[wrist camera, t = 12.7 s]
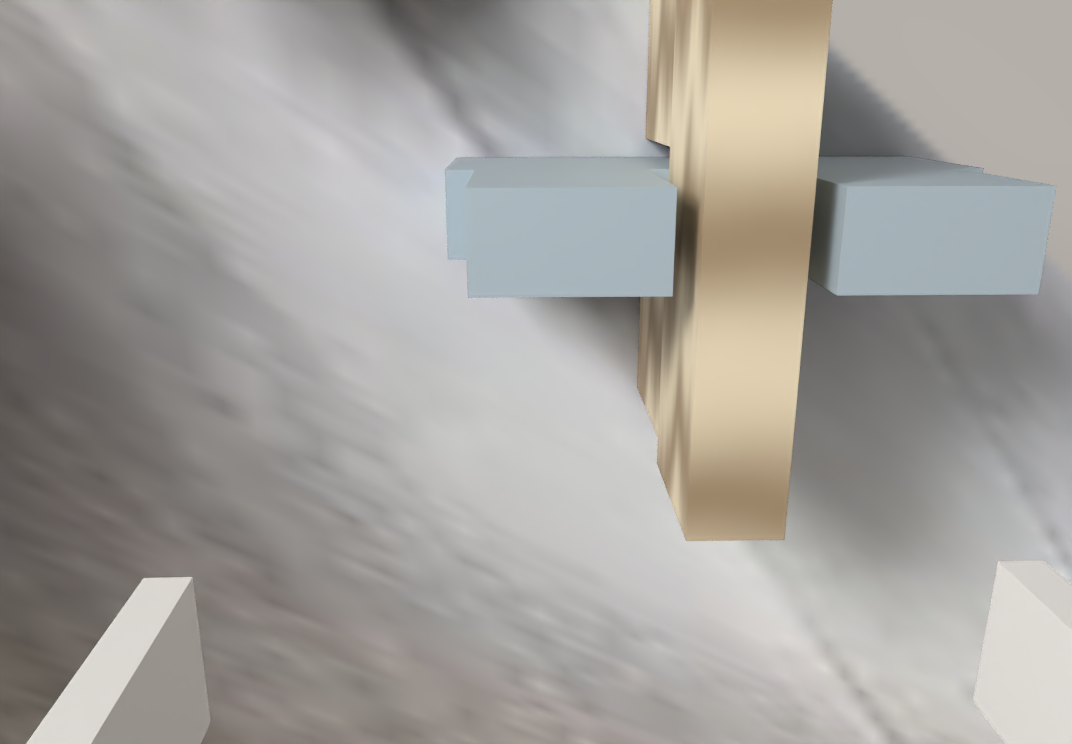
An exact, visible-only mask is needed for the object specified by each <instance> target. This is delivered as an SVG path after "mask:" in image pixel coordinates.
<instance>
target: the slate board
mask: <svg viewBox="0 0 1072 744" xmlns="http://www.w3.org/2000/svg"><path fill="white" fill-rule="evenodd" d="M669 162H670V157H537V158H456V159H455V160H454V161H453V162H452V163H451V164H450V165H449V166H448V167H447V168H446V169H445V187H446V219H447V251H448V260H467V290H468V298H494V297H670V296H673V273H674V251H675V228H676V205H677V187H676V186H675V185H673V184H671V183H669ZM1055 191H1056V186H1055V185H1049V184H1043V183H1037V182H1031V181H1026V180H1020V179H1014V178H1008V177H1001V176H996V175H990V174H984V173H983V168H979V167H973V166H966V165H960V164H954V163H947V162H941V161H935V160H929V159H922V158H916V157H910V156H876V157H819V158H818V169H817V180H816V191H815V203H814V214H813V225H812V236H811V247H810V259H809V270H808V278H810V279H811V280H813V281H814V282H816V283H817V284H819V285H821V286H822V287H824V288H825V289H827V290H829V291H830V292H832V293H833V294H835V295H836V296H846V295H1021V294H1039V288H1040V282H1041V276H1042V270H1043V264H1044V258H1045V252H1046V246H1047V240H1048V234H1049V228H1050V221H1051V216H1052V209H1053V204H1054V197H1055Z"/></svg>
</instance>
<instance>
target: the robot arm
mask: <svg viewBox="0 0 1072 744" xmlns="http://www.w3.org/2000/svg"><path fill="white" fill-rule="evenodd" d="M973 702H974V704H975V705H976V706H977V708H978V709H979V710H980V711H981V713H982V714H983V715H984V716H985V718H986V719H987V720H988V722H989V723H990V724H991V725H992V727H993V728H994V729H995V731H996V732H997V733H998V734H999V736H1000V737H1001V738H1002V740H1003V741H1004V742H1005V743H1006V744H1072V585H1071V584H1070V583H1069V582H1068V581H1066V580H1065V579H1064V578H1063V577H1062V576H1061V575H1059V574H1058V573H1057V572H1056V571H1055V570H1054V569H1052V568H1051V567H1050V566H1049V565H1048V564H1047V563H1045V562H1044V561H998V565H997V571H996V576H995V582H994V587H993V593H992V598H991V604H990V609H989V615H988V620H987V626H986V632H985V637H984V643H983V648H982V654H981V659H980V665H979V670H978V676H977V681H976V687H975V693H974V698H973ZM210 723H211V720H210V712H209V704H208V696H207V688H206V680H205V672H204V664H203V656H202V648H201V640H200V632H199V624H198V616H197V608H196V600H195V592H194V584H193V577H168V578H143V579H142V581H141V582H140V584H139V585H138V587H137V588H136V589H135V591H134V592H133V594H132V595H131V596H130V598H129V599H128V601H127V602H126V603H125V605H124V606H123V608H122V609H121V610H120V612H119V613H118V615H117V616H116V618H115V619H114V620H113V622H112V623H111V625H110V626H109V627H108V629H107V630H106V632H105V633H104V634H103V636H102V637H101V639H100V640H99V641H98V643H97V644H96V646H95V647H94V649H93V650H92V651H91V653H90V654H89V656H88V657H87V658H86V660H85V661H84V663H83V664H82V665H81V667H80V668H79V670H78V671H77V673H76V674H75V675H74V677H73V678H72V680H71V681H70V682H69V684H68V685H67V687H66V688H65V689H64V691H63V692H62V694H61V695H60V696H59V698H58V699H57V701H56V702H55V704H54V705H53V706H52V708H51V709H50V711H49V712H48V713H47V715H46V716H45V718H44V719H43V720H42V722H41V723H40V725H39V726H38V728H37V729H36V730H35V732H34V733H33V735H32V736H31V737H30V739H29V740H28V742H27V743H26V744H201V743H202V741H203V738H204V736H205V734H206V732H207V729H208V727H209V725H210Z"/></svg>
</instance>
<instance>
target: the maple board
mask: <svg viewBox="0 0 1072 744" xmlns="http://www.w3.org/2000/svg"><path fill="white" fill-rule="evenodd" d="M832 1H833V0H650V22H649V51H648V81H647V111H646V139H649V140H652V141H655V142H658V143H661V144H663V145H666V146H669V147H670V162H669V183H671V184H673V185H675V186H676V187H677V205H676V228H675V251H674V273H673V296H670V297H640V317H639V347H638V377H637V388H638V390H639V393H640V395H641V397H642V400H643V402H644V405H645V407H646V410H647V412H648V415H649V417H650V420H651V422H652V424H653V427H654V429H655V432H656V434H657V437H658V450H657V465H658V468H659V470H660V473H661V476H662V478H663V481H664V484H665V486H666V489H667V492H668V494H669V497H670V499H671V502H672V505H673V507H674V510H675V513H676V515H677V518H678V521H679V523H680V526H681V529H682V531H683V534H684V537H685V539H686V541H724V540H784V538H785V527H786V516H787V505H788V494H789V482H790V471H791V460H792V449H793V438H794V426H795V415H796V404H797V393H798V382H799V370H800V359H801V348H802V337H803V326H804V315H805V303H806V292H807V281H808V270H809V259H810V247H811V236H812V225H813V214H814V203H815V191H816V180H817V169H818V158H819V147H820V136H821V124H822V113H823V102H824V91H825V80H826V68H827V57H828V46H829V35H830V24H831V12H832Z"/></svg>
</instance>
